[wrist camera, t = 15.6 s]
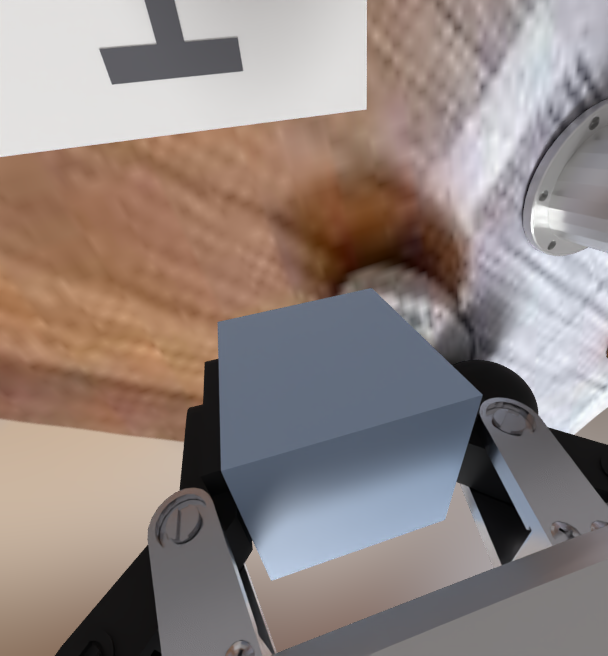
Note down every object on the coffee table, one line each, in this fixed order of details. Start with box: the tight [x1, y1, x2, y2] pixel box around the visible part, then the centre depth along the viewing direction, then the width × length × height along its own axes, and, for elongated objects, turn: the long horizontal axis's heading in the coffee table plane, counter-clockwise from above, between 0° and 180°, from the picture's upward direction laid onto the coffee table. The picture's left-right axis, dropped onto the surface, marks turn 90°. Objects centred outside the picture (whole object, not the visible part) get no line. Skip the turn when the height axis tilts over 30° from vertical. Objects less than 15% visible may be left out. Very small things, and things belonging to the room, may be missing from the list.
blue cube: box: [218, 288, 483, 581], centre depth 9 cm, size 5×5×5 cm
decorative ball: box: [453, 360, 538, 415], centre depth 33 cm, size 10×10×10 cm
